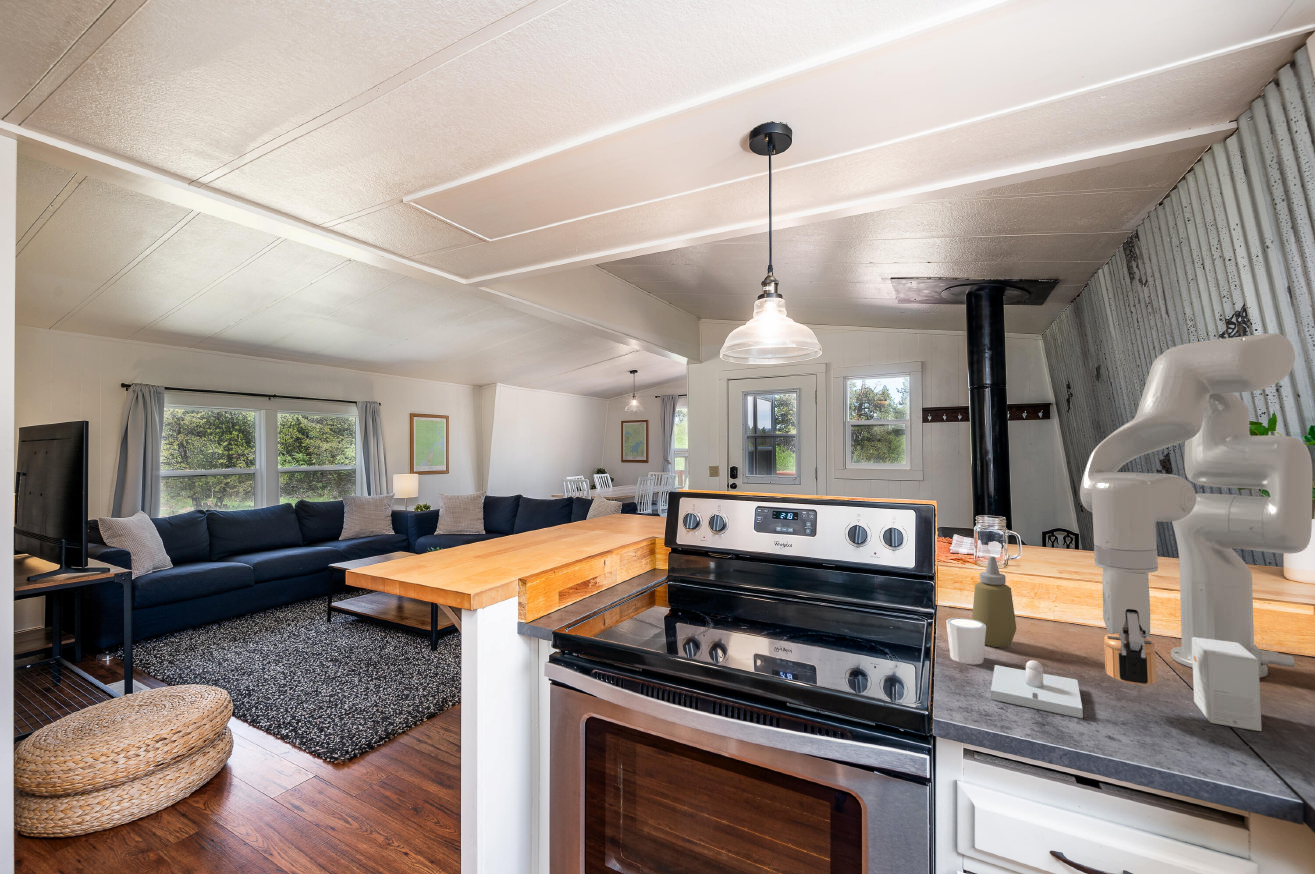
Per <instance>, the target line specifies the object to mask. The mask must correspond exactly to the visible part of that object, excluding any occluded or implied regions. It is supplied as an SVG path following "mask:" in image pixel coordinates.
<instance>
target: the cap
mask: <svg viewBox="0 0 1315 874" xmlns="http://www.w3.org/2000/svg"><path fill="white" fill-rule="evenodd" d="M1103 638H1104V639H1103V642H1104V643H1103V644H1104V645H1103V646H1104V647H1103V648H1104V667H1105V670H1104V671H1105V673H1106V674H1107V675H1108V676H1110V677H1112V678H1113V679H1115V680H1118V681H1122V682H1124V683H1129V684H1135V685H1141V686H1142V685H1144V684H1143V683H1136V682H1130V681H1124V680H1121V679H1120V673H1119V653H1121V647H1120V636H1119V634H1114V635H1113V634H1111V633H1106V634H1105V635H1104V637H1103ZM1126 641H1129V639H1128V638H1125V643H1126ZM1144 645H1145V656H1146V657H1147V674H1148V683H1147V684H1146V685H1153V684H1155V683H1157V681H1158V677H1157V675H1158V674H1157V655H1156V647H1155V643H1154V642H1153V641H1152V640H1150V639H1148V638H1146V639H1145V638H1144Z"/></svg>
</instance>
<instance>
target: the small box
mask: <svg viewBox="0 0 1315 874" xmlns="http://www.w3.org/2000/svg"><path fill="white" fill-rule="evenodd" d="M1192 661H1193V668H1192V675H1193V676H1192V677H1193V678H1192V680H1193V681H1192V683H1193V702H1194V704H1196V706H1197V707H1198V708H1199V710H1200V711H1201V712H1202V714H1203V715H1204V716H1205V718H1206V719H1207V720H1208V722H1209V723H1210V724H1216V725H1222V726H1227V727H1232V728H1237V729H1238V728H1240V729H1245V730H1249V731H1256V732H1262V730H1263V729H1262V706H1261V686H1260V678H1259V660H1258V659H1257V658H1256V657H1255V656H1254V655H1252V654H1251V653H1250V652H1249V651H1248V650H1246V649H1245V648H1244V647H1243V646H1242V645H1240V644H1239V643H1236V642H1229V641H1220V640H1213V639H1204V638H1196V637H1192Z"/></svg>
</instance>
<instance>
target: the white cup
mask: <svg viewBox="0 0 1315 874" xmlns="http://www.w3.org/2000/svg"><path fill="white" fill-rule="evenodd" d="M945 622H946V631H947V638H948V639H947V640H948V649H949V655H950V659H952V660H953V661H956V662H958V663H961V664H965V665H981V664H983V663H984V658H985V647H986V646H985V635H986V625H985V624H984V623H982V622H980V621H976V620H972V618H971V619H970V618H965V617H951V618H947V619H946V620H945Z"/></svg>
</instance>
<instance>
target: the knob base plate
mask: <svg viewBox="0 0 1315 874" xmlns="http://www.w3.org/2000/svg"><path fill="white" fill-rule="evenodd" d="M990 700H992V701H997V702H1001V703H1003V702H1004V703H1008V704H1012V705H1017V706H1022V707H1025V708H1032V709H1036V710H1041V711H1046V712H1050V713H1055V714H1059V715H1064V716H1069V717H1074V718H1079V719H1083V717H1084V715H1083V704H1082V699H1081V693H1080V689H1079V681H1078V679H1075V678H1070V677H1064V676H1059V675H1053V674H1048V673H1044V667H1043V664H1041V663H1040V662H1039V661H1037V660H1029V661H1027V662H1026V664H1025V669H1020V668H1019V669H1018V668H1015V667H1014V668H1013V667H1010V666H1009V667H1007V666H1003V665H997V664H994V669H993V674H992V680H991V687H990Z"/></svg>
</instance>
